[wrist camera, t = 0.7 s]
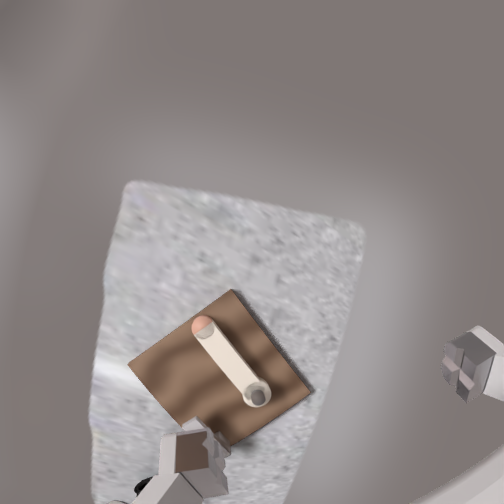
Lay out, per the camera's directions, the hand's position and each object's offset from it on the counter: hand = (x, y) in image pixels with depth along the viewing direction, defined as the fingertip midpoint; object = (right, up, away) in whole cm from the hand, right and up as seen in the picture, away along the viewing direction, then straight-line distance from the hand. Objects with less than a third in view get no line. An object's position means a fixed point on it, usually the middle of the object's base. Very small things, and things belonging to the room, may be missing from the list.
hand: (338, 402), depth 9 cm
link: (-6, -13, +41) cm, 44 cm away
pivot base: (-8, -17, +43) cm, 47 cm away
